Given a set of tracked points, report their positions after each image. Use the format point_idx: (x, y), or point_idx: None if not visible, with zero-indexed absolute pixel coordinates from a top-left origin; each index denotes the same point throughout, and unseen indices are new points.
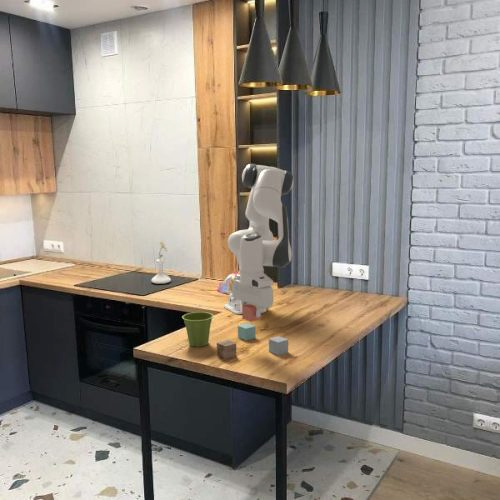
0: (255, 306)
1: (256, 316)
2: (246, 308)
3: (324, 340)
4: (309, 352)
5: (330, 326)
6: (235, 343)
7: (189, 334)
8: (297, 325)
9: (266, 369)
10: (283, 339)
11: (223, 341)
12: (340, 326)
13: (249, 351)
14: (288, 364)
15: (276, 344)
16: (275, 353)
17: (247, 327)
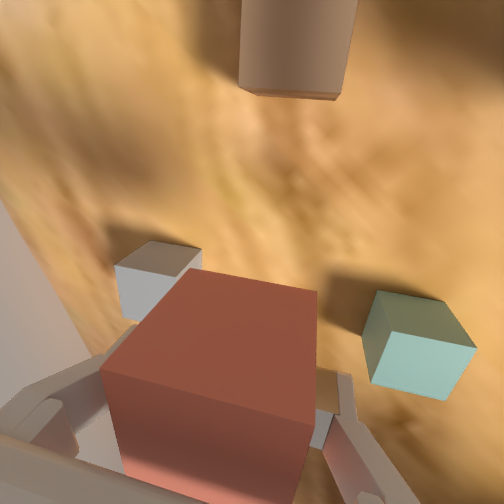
0: (151, 454)
1: (135, 325)
2: (208, 375)
3: None
4: (117, 322)
5: None
6: (239, 78)
7: None
8: (321, 481)
9: (51, 87)
10: (133, 307)
11: (340, 27)
12: None
13: (260, 196)
14: (61, 196)
15: (132, 261)
16: (161, 244)
17: (395, 350)
